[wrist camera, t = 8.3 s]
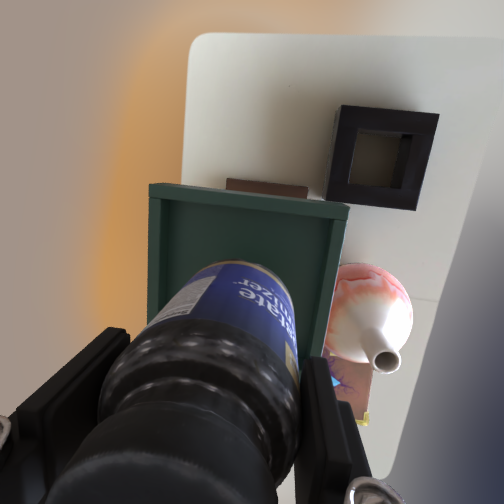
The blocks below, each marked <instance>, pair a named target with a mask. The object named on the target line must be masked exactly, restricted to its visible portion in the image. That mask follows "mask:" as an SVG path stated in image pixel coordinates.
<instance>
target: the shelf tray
mask: <svg viewBox="0 0 504 504" xmlns="http://www.w3.org/2000/svg"><path fill="white" fill-rule="evenodd" d="M149 197H150V198H149V219H148V220H149V221H148V223H149V224H148V287H147V289H148V290H147V294H148V295H147V325H148V324H149V323H150V322H151V321H152V320H153V319H154V318H155V317H156V315H157V314H158V313H159V312H160V311H161V310H162V309H163V308H164V307H165V306H166V305H167V304H168V303H169V301H170V300H171V299H172V298H173V297H174V296H175V295H176V294H177V293H178V292H179V291H180V290H181V288H182V287H183V286H184V285H185V284H186V283H187V282H188V281H189V280H190V278H191V277H192V276H193V275H194V274H195V273H197V272H198V271H199V270H201V269H202V268H204V267H205V266H207V265H209V264H211V263H213V262H216V261H219V260H223V259H232V258H238V259H243V260H245V261H247V262H249V263H257V264H260V265H263V266H264V267H266V268H268V269H270V270H271V271H272V272H273V273H274V274H276V275H277V276H278V277H279V278H280V280H281V281H282V282H283V284H284V285H285V286H286V288H287V290H288V292H289V294H290V297H291V299H292V303H293V307H294V315H295V331H296V343H297V357H298V370H299V380H300V378H301V372H302V366H303V361H304V359H308V360H309V358H310V356H317V357H322V352H323V347H324V342H325V337H326V331H327V326H328V321H329V316H330V310H331V305H332V300H333V295H334V289H335V284H336V279H337V274H338V269H339V263H340V258H341V253H342V248H343V242H344V237H345V232H346V227H347V220H348V217H349V211H350V207H349V206H347V205H345V204H342V203H338V202H329V201H320V200H311V199H302V198H294V197H285V196H276V195H267V194H259V193H250V192H241V191H232V190H224V189H215V188H206V187H197V186H188V185H180V184H171V183H156V184H149Z"/></svg>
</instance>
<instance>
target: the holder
mask: <svg viewBox="0 0 504 504" xmlns="http://www.w3.org/2000/svg"><path fill="white" fill-rule="evenodd" d="M439 115H440V114H435V113H425V112H414V111H403V110H393V109H382V108H371V107H360V106H350V105H341V106H340V107H339V108H338V110H337V111H336V114H335V120H334V126H333V132H332V138H331V144H330V150H329V156H328V162H327V168H326V174H325V181H324V187H323V193H322V199H324V200H325V201H332V202H341V203H350V204H358V205H367V206H376V207H385V208H394V209H402V210H411V211H416V208H417V204H418V200H419V196H420V191H421V188H422V184H423V180H424V176H425V172H426V168H427V164H428V160H429V155H430V151H431V147H432V143H433V139H434V135H435V131H436V127H437V123H438V119H439ZM357 133H358V134H368V135H378V136H388V137H398V138H401V141H400V145H399V150H398V154H397V159H396V163H395V168H394V172H393V177H392V181H391V186H390V188H387V187H378V186H369V185H360V184H351V183H348V182H349V176H350V171H351V166H352V160H353V155H354V149H355V144H356V139H357Z"/></svg>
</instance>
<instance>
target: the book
mask: <svg viewBox="0 0 504 504" xmlns="http://www.w3.org/2000/svg"><path fill="white" fill-rule="evenodd" d="M322 357H324V358H327V361H328V365H329V370H330V374H331V378H332V382H333V386H334V390H335V394H336V398H337V400H342V401H348V402H349V403H350V405H351V407H352V411H353V414H354V417H355V421H356V424H359V425H362V426H366V425H368V424H369V413H368V411H367V410H368V404H369V397H370V390H371V383H372V376H373V368H372V366H371V364H370V363H356V362H351V361H348V360H345V359H342V358H340V357H338V356H336V355H335V354H333V353H332V352H330V351H329V350H328V349H327V348H326V347H325V346H324V347H323V352H322ZM299 383H300V380H299Z"/></svg>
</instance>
